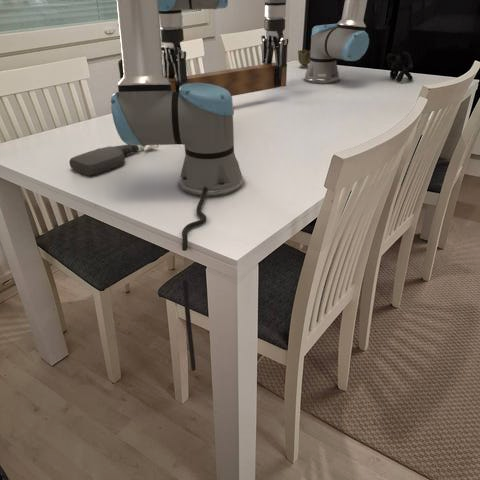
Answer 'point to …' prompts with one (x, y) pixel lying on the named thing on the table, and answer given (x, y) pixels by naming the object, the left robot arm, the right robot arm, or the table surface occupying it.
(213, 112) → the left robot arm
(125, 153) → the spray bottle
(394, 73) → the squiggle
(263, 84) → the bar
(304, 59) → the cup
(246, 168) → the table surface
